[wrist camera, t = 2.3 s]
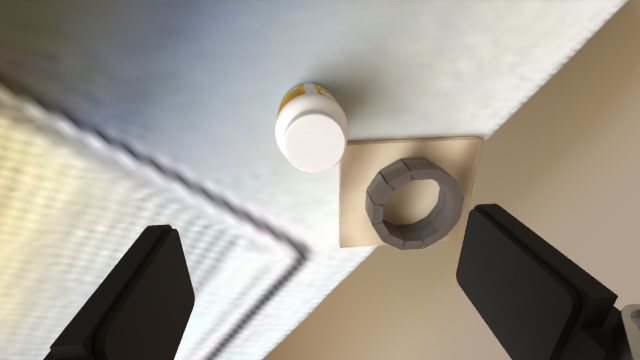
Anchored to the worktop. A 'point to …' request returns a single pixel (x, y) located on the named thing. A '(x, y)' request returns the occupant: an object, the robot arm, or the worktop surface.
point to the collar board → (406, 191)
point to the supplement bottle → (311, 128)
